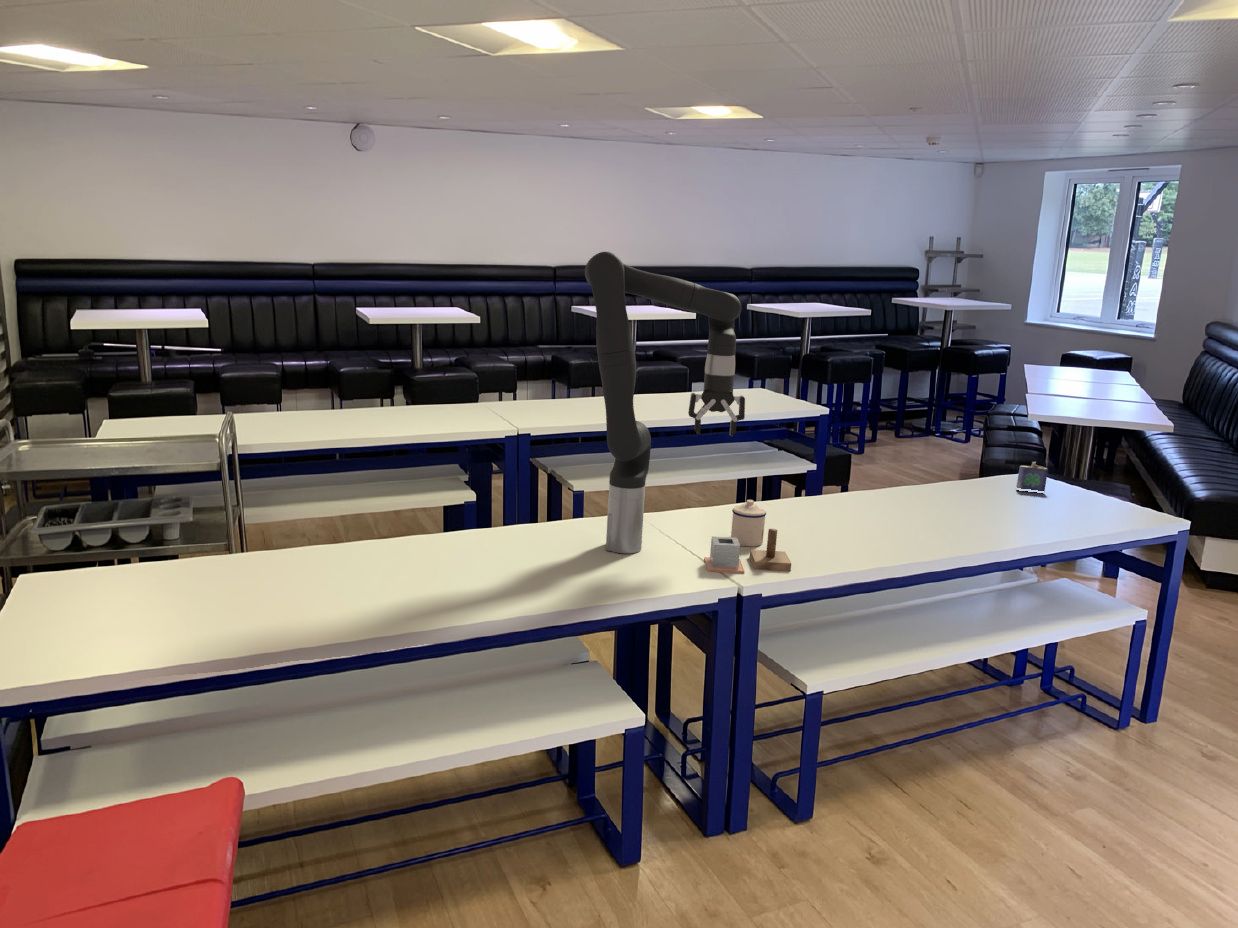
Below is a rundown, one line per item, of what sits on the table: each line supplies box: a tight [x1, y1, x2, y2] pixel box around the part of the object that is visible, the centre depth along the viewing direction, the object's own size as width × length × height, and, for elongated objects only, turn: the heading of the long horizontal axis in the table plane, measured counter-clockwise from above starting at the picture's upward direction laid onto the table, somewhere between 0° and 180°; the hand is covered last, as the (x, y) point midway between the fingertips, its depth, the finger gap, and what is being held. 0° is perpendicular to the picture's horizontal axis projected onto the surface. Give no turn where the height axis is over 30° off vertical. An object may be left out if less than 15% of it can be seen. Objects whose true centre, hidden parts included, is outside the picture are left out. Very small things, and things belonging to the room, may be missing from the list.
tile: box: [703, 556, 745, 574], centre depth 231 cm, size 9×9×1 cm
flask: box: [1016, 461, 1049, 492], centre depth 321 cm, size 9×3×11 cm, turn 75°
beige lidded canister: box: [730, 499, 767, 548], centre depth 251 cm, size 12×9×12 cm
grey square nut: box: [709, 536, 741, 569], centre depth 230 cm, size 6×6×6 cm
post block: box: [749, 528, 792, 572], centre depth 233 cm, size 9×9×9 cm
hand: (714, 434), depth 239 cm, fingers open, 8 cm apart
